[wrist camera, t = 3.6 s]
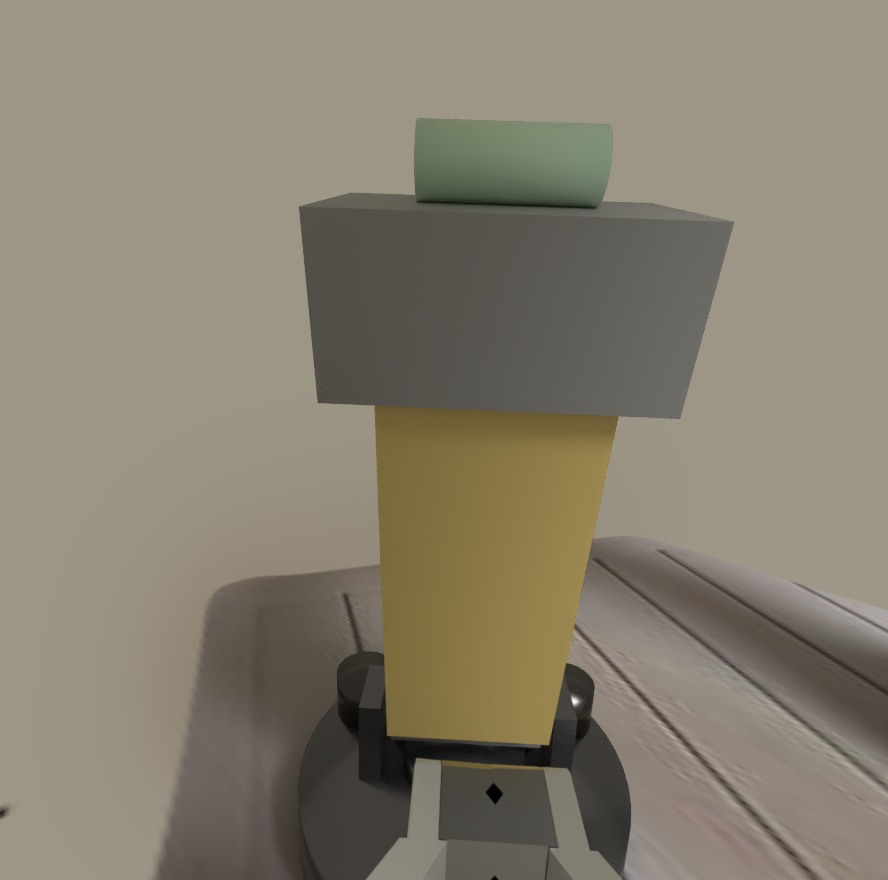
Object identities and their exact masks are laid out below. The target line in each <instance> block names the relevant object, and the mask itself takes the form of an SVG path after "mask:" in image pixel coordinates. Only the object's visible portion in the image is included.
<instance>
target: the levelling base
mask: <svg viewBox="0 0 888 880" xmlns="http://www.w3.org/2000/svg"><path fill="white" fill-rule="evenodd" d="M594 688H595V687H594V682H593V680H592V678H591V677H590V676H589V675H588V674H587V673H586V672H585V671H584V670H582V669H581V668H579V667H577V666H574V665H572V664H568V663H566V666H565V671H564V676H563V680H562V685H561V690H560V695H559V699H558V704H557V709H556V713H555V718H554V723H553V728H552V732H551V737H550V742H549V745H541V747H540V748H527V747H510V746H493V745H476V744H459V743H442V742H425V741H408V740H392V739H391V736H387V717H386V690H385V664H384V654H381V653H377V652H361V653H357V654H354V655H351V656H349V657H348V658H346V659H345V660H344V661H342V663H341V664H340V665H339V667H338V670H337V702H336V703H335V704H334V705H333V706H332V707H331V708H330V709H329V710H328V712H327V713H326V714H325V715H324V717H323V718H322V719H321V721H320V722H319V724H318V726H317V727H316V729H315V730H314V732H313V734H312V736H311V738H310V741H309V743H308V745H307V747H306V750H305V753H304V757H303V760H302V764H301V768H300V776H299V784H298V793H299V824H300V854H301V863H302V869H303V875H304V880H366V879H367V878H368V876H369V875H370V874H371V872H372V871H373V870H374V869H375V867H376V866H377V865H378V864H379V862H380V861H381V860H382V859H383V857H384V856H385V855H386V854H387V852H388V851H389V850H390V849H391V847H392V846H393V845H394V843H395V842H396V841H397V840H398V838H407V833H408V824H409V814H410V804H411V794H412V785H413V775H414V765H415V761H416V758H420V759H430V760H440V761H441V767H442V760H447V761H458V762H468V763H479V764H490V765H491V764H496V765H514V766H532V767H541V768H542V767H552V768H567V769H568V770H569V772H570V773H571V777H572V781H573V785H574V789H575V793H576V797H577V801H578V805H579V809H580V813H581V817H582V821H583V825H584V829H585V833H586V837H587V841H588V845H589V849H590V851H598V852H599V853H600V854H601V855H602V857H603V858H604V859H605V860H606V861H607V862H608V863H609V865H610V866H611V867H612V868H613V869H614V870H615V871H616V873H617V874H618V875H619V876H620V877H621V878H622V879H623V872H624V866H625V859H626V853H627V846H628V840H629V834H630V827H631V802H630V795H629V787H628V784H627V780H626V777H625V773H624V769H623V767H622V765H621V762H620V760H619V758H618V755H617V753H616V751H615V749H614V748H613V746H612V744H611V742H610V741H609V739H608V737H607V736H606V734H605V733H604V732H603V730H602V729H601V728H600V726H599V725H598V724H597V722H596V721H595V720H594V719H593V718H592V717H591V712H592V704H593V696H594Z"/></svg>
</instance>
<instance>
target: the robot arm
mask: <svg viewBox="0 0 888 880" xmlns="http://www.w3.org/2000/svg"><path fill="white" fill-rule="evenodd" d="M366 880H623V879H622V878H621V877H620V876H619V875H618V874H617V873H616V871H615V870H614V869H613V868H612V867H611V866H610V865H609V863H608V862H607V861H606V860H605V859H604V858H603V857H602V855H601V854H600V853H599V852H598V851H590V849H589V845H588V841H587V837H586V833H585V829H584V825H583V821H582V817H581V813H580V809H579V805H578V801H577V797H576V793H575V789H574V785H573V781H572V777H571V773H570V772H569V770H568V769H567V768H552V767H542V768H541V767H532V766H514V765H496V764H491V765H490V764H479V763H468V762H458V761H447V760H442V767H441V761H440V760H430V759H420V758H416V761H415V765H414V775H413V785H412V794H411V804H410V814H409V824H408V833H407V838H398V840H397V841H396V842H395V843H394V845H393V846H392V847H391V849H390V850H389V851H388V852H387V854H386V855H385V856H384V857H383V859H382V860H381V861H380V862H379V864H378V865H377V866H376V867H375V869H374V870H373V871H372V872H371V874H370V875H369V876H368V878H367V879H366Z"/></svg>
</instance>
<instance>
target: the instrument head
mask: <svg viewBox="0 0 888 880" xmlns="http://www.w3.org/2000/svg"><path fill="white" fill-rule="evenodd" d="M414 148H415V149H414V175H415V194H416V195H401V194H372V193H348V194H344V195H340V196H337V197H333V198H329V199H325V200H322V201H318V202H314V203H310V204H307V205H303V206H300V207H299V211H300V222H301V233H302V243H303V254H304V264H305V274H306V285H307V295H308V306H309V316H310V327H311V337H312V348H313V358H314V368H315V378H316V389H317V398H318V399H317V400H318V403H330V404H353V405H355V404H356V405H375V429H376V455H377V482H378V505H379V506H378V508H379V534H380V558H381V559H380V560H381V586H382V612H383V638H384V664H385V690H386V717H387V736H391V739H392V740H408V741H425V742H442V743H459V744H476V745H493V746H510V747H527V748H540V747H541V745H549V742H550V737H551V732H552V728H553V723H554V718H555V713H556V709H557V704H558V699H559V695H560V690H561V685H562V680H563V676H564V671H565V666H566V662H567V657H568V652H569V647H570V643H571V638H572V633H573V629H574V624H575V619H576V614H577V610H578V605H579V600H580V596H581V591H582V586H583V581H584V577H585V572H586V567H587V563H588V558H589V553H590V548H591V544H592V539H593V534H594V529H595V525H596V520H597V515H598V511H599V506H600V501H601V497H602V492H603V487H604V482H605V478H606V473H607V468H608V464H609V458H610V454H611V449H612V444H613V440H614V435H615V431H616V426H617V421H618V416H626V417H648V418H650V417H651V418H670V419H672V418H673V419H680V417H681V413H682V409H683V406H684V402H685V399H686V395H687V391H688V388H689V384H690V380H691V377H692V373H693V370H694V366H695V362H696V359H697V355H698V351H699V348H700V344H701V341H702V337H703V333H704V330H705V326H706V322H707V319H708V315H709V312H710V308H711V304H712V300H713V297H714V293H715V290H716V286H717V283H718V279H719V275H720V271H721V268H722V264H723V261H724V257H725V254H726V250H727V246H728V243H729V238H730V235H731V232H732V228H733V224H734V222H732V221H728V220H723V219H719V218H714V217H710V216H705V215H701V214H696V213H692V212H687V211H684V210H679V209H675V208H670V207H666V206H661V205H657V204H653V203H630V202H601V201H602V199H603V197H604V194H605V190H606V187H607V183H608V179H609V174H610V169H611V162H612V151H613V132H612V127H611V125H610V124H586V123H554V122H553V123H552V122H523V121H522V122H521V121H490V120H460V119H458V120H457V119H427V118H417V121H416V129H415V147H414Z"/></svg>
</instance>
